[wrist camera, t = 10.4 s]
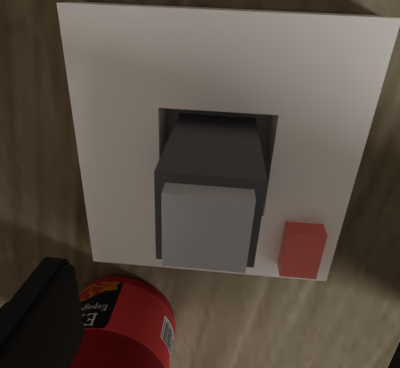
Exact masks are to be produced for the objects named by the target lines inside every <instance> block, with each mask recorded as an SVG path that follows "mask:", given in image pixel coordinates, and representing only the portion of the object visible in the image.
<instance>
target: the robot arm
mask: <svg viewBox="0 0 400 368" xmlns="http://www.w3.org/2000/svg"><path fill="white" fill-rule="evenodd" d="M84 332H85V329H84V323H83V317H82V311H81V305H80V299H79V293H78V287H77V281H76V275H75V269H74V266H73V265H70V264H69V261H68V260H67V259H60V258H52V257H46V258H44V259H43V260H42V262H41V263H40V264H39V265H38V267H37V268H36V269H35V270H34V271H33V273H32V274H31V275H30V276H29V278H28V279H27V280H26V281H25V283H24V284H23V285H22V286H21V288H20V289H19V290H18V291H17V293H16V294H15V295H14V296H13V297H12V299H11V300H10V301H9V302H7V303H5V304H4V305H3V306H2V307H1V308H0V368H69V367H70V365H71V363H72V361H73V359H74V357H75V355H76V353H77V351H78V349H79V347H80V345H81V343H82V341H83V338H84ZM388 368H400V343H399V345H398V347H397V349H396V352H395V354H394V356H393V358H392V360H391V362H390V365H389V367H388Z"/></svg>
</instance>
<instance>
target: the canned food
mask: <svg viewBox="0 0 400 368" xmlns="http://www.w3.org/2000/svg"><path fill="white" fill-rule="evenodd" d="M79 299H80V305H81V311H82V317H83V323H84V329H85V332H84V338H83V341H82V343H81V345H80V347H79V349H78V351H77V353H76V355H75V357H74V359H73V361H72V363H71V365H70V367H69V368H169V366H170V360H171V354H172V348H173V342H174V335H175V320H174V314H173V310H172V308H171V306H170V304H169V302H168V301H167V299H166V298H165V297H164V296H163V295H162V294H161V293H160V292H159V291H158V290H157V289H155V288H153V287H152V286H150V285H149V284H147V283H144V282H142V281H140V280H137V279H133V278H129V277H122V276H109V277H104V278H100V279H97V280H95V281H93V282H91V283H90V284H89V285H87V286H86V287H85V288H84V289H83V290H82V291H81V292H80V293H79Z"/></svg>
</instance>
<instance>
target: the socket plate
mask: <svg viewBox="0 0 400 368" xmlns="http://www.w3.org/2000/svg"><path fill="white" fill-rule="evenodd" d="M57 10H58V17H59V24H60V31H61V38H62V45H63V53H64V60H65V67H66V74H67V81H68V88H69V95H70V102H71V109H72V116H73V123H74V130H75V137H76V144H77V151H78V158H79V165H80V172H81V179H82V186H83V193H84V200H85V207H86V214H87V221H88V228H89V235H90V242H91V249H92V256H93V261H95V262H107V263H119V264H130V265H142V266H154V267H165V268H177V269H189V270H200V271H212V272H224V273H235V274H247V275H259V276H270V277H282V278H294V279H305V280H317V281H326V280H327V277H328V273H329V270H330V266H331V263H332V259H333V256H334V252H335V249H336V246H337V242H338V239H339V235H340V232H341V228H342V225H343V221H344V218H345V214H346V211H347V207H348V204H349V200H350V197H351V193H352V190H353V186H354V183H355V179H356V176H357V172H358V169H359V165H360V162H361V159H362V155H363V152H364V148H365V145H366V141H367V138H368V134H369V131H370V127H371V124H372V120H373V117H374V113H375V110H376V106H377V103H378V99H379V96H380V92H381V89H382V85H383V82H384V78H385V75H386V71H387V68H388V65H389V61H390V58H391V54H392V51H393V47H394V44H395V40H396V37H397V33H398V30H399V26H400V18H395V17H388V16H380V15H360V14H338V13H316V12H294V11H272V10H250V9H228V8H206V7H184V6H162V5H140V4H118V3H96V2H58V3H57ZM180 113H186V114H200V115H215V116H229V117H244V118H256V124H257V129H258V134H259V139H260V144H261V150H262V155H263V160H264V165H265V170H266V176H267V186H266V193H265V199H264V205H263V212H262V218H261V224H260V231H259V237H258V243H257V250H256V256H255V263H254V268H253V267H246V273H239V272H228V271H217V270H206V269H195V268H184V267H173V266H162V259H156V242H155V194H154V171H155V168H156V166H157V164H158V162H159V159H160V157H161V155H162V153H163V150H164V148H165V146H166V144H167V141H168V139H169V137H170V135H171V132H172V130H173V128H174V126H175V123H176V121H177V119H178V116H179V114H180Z"/></svg>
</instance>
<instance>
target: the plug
mask: <svg viewBox="0 0 400 368" xmlns="http://www.w3.org/2000/svg"><path fill="white" fill-rule="evenodd" d="M266 186H267V176H266V170H265V165H264V160H263V155H262V150H261V144H260V139H259V134H258V129H257V124H256V118H244V117H229V116H215V115H200V114H186V113H180V114H179V116H178V119H177V121H176V123H175V126H174V128H173V130H172V132H171V135H170V137H169V139H168V141H167V144H166V146H165V148H164V150H163V153H162V155H161V157H160V159H159V162H158V164H157V166H156V168H155V171H154V194H155V242H156V259H162V266H173V267H184V268H195V269H206V270H217V271H228V272H239V273H246V267H253V268H254V263H255V256H256V250H257V243H258V237H259V231H260V224H261V218H262V212H263V205H264V199H265V193H266Z"/></svg>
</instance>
